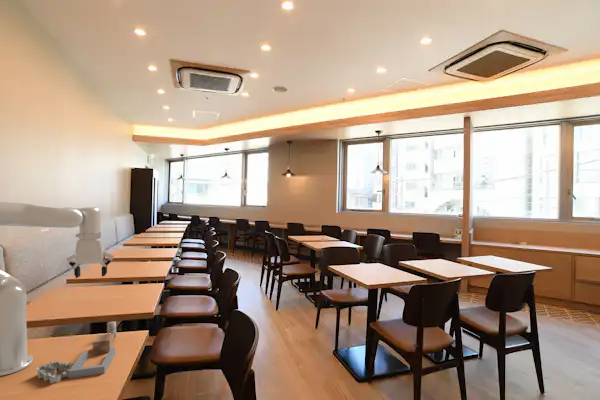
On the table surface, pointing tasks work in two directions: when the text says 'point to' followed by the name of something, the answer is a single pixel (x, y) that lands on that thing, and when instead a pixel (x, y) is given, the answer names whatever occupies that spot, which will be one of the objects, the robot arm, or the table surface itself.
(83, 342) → the table surface
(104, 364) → the lane rack
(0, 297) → the robot arm
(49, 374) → the grey rough openwork block
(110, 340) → the tan block with knob
